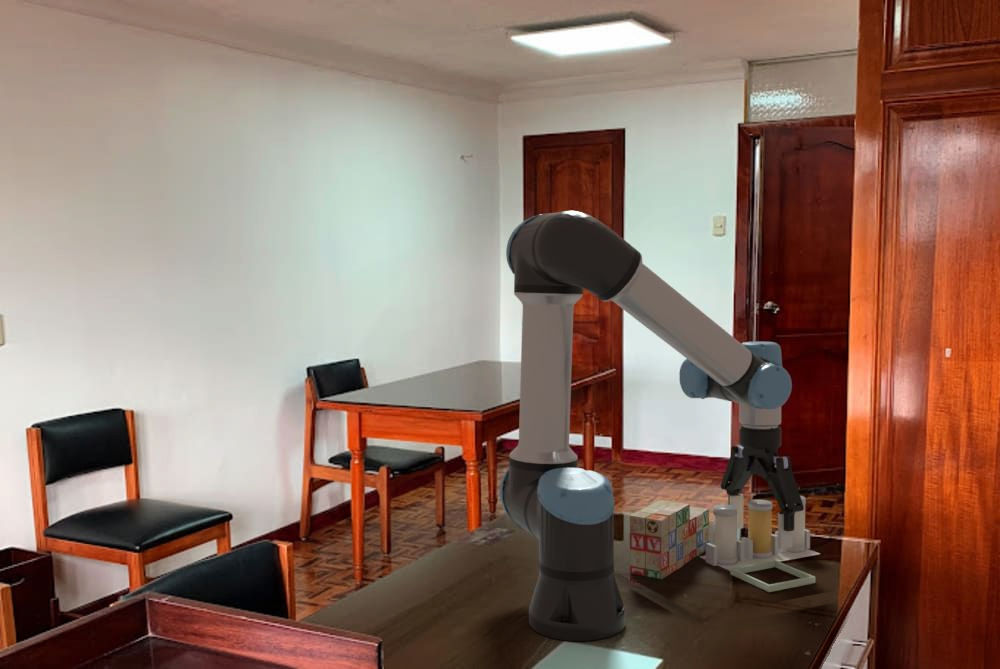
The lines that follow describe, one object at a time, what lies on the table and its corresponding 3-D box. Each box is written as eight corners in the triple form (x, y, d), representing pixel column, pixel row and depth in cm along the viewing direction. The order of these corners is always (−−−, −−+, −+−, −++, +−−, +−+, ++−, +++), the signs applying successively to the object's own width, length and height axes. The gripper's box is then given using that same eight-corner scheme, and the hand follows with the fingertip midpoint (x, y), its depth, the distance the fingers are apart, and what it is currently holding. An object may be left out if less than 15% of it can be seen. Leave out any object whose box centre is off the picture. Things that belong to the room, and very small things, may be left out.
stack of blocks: (680, 550, 180) (679, 489, 179) (710, 556, 176) (710, 493, 175) (629, 582, 163) (628, 514, 162) (661, 588, 159) (661, 519, 158)
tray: (768, 600, 152) (768, 586, 152) (730, 582, 161) (730, 568, 161) (815, 591, 156) (815, 576, 156) (775, 573, 165) (775, 560, 165)
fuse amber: (758, 560, 168) (758, 506, 168) (742, 553, 172) (742, 501, 172) (777, 556, 170) (777, 503, 169) (761, 550, 174) (761, 498, 173)
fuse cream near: (722, 566, 165) (722, 511, 164) (707, 559, 169) (707, 506, 168) (742, 563, 167) (742, 508, 166) (727, 556, 171) (727, 503, 170)
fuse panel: (725, 579, 163) (725, 552, 162) (694, 565, 171) (694, 538, 170) (822, 561, 172) (822, 535, 171) (789, 548, 180) (789, 523, 180)
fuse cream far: (792, 554, 172) (792, 501, 171) (776, 547, 176) (776, 496, 175) (810, 550, 173) (810, 498, 173) (794, 544, 177) (794, 493, 177)
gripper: (825, 434, 160) (824, 553, 161) (733, 414, 182) (733, 518, 184) (791, 438, 157) (790, 559, 158) (702, 417, 179) (702, 523, 181)
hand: (759, 537), depth 171 cm, fingers open, 13 cm apart
